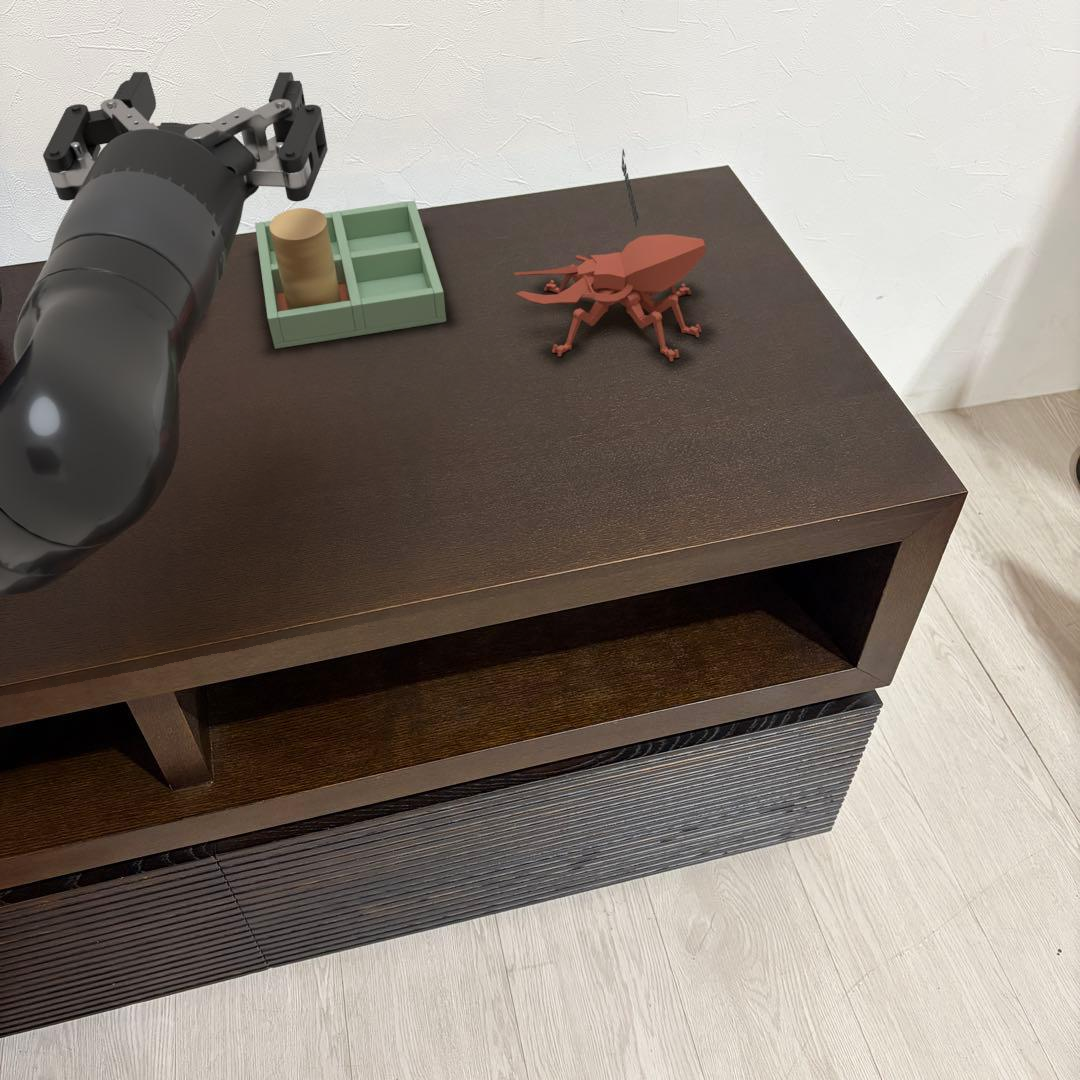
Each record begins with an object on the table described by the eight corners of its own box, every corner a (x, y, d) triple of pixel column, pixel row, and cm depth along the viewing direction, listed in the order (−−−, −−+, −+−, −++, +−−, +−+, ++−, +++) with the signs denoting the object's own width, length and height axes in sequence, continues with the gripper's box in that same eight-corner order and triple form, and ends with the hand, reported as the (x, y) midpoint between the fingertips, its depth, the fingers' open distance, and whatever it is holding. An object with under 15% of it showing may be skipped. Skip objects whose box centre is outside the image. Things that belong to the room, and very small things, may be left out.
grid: (274, 349, 88) (267, 318, 86) (261, 252, 97) (254, 222, 95) (446, 321, 90) (443, 291, 88) (417, 229, 99) (414, 200, 97)
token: (279, 321, 89) (259, 235, 83) (300, 289, 92) (282, 204, 86) (330, 328, 89) (313, 243, 83) (349, 297, 91) (335, 211, 85)
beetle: (685, 269, 95) (699, 131, 85) (710, 360, 86) (729, 218, 77) (512, 278, 94) (507, 140, 85) (520, 370, 86) (516, 229, 76)
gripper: (276, 174, 51) (327, 22, 62) (-26, 173, 52) (77, 22, 62) (303, 306, 57) (346, 146, 68) (31, 304, 57) (117, 145, 68)
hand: (217, 87), depth 65 cm, fingers open, 8 cm apart
